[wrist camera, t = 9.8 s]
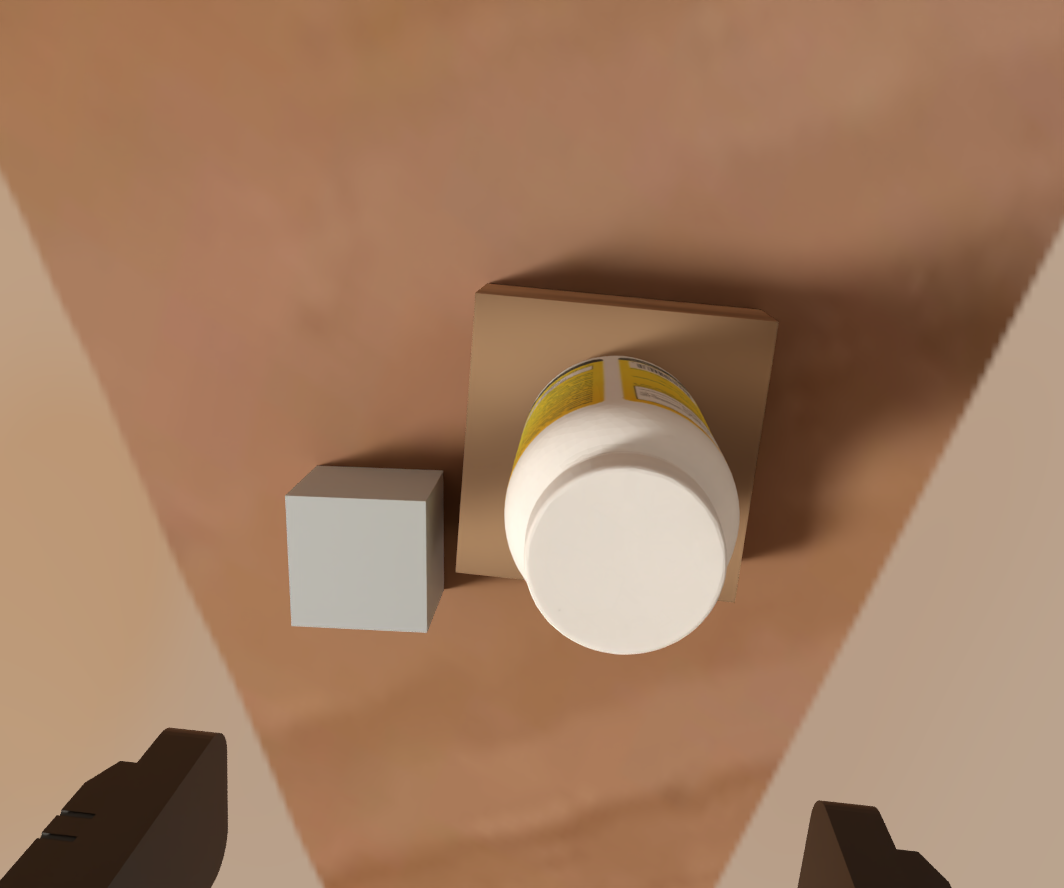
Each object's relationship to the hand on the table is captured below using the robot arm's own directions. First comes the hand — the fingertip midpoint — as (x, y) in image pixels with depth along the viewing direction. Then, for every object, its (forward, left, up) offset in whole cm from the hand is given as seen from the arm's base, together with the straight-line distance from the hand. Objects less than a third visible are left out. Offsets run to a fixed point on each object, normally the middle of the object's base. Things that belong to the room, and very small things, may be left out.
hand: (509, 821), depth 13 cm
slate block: (+5, -7, -24) cm, 25 cm away
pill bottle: (0, +2, -20) cm, 20 cm away
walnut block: (0, +2, -24) cm, 24 cm away
